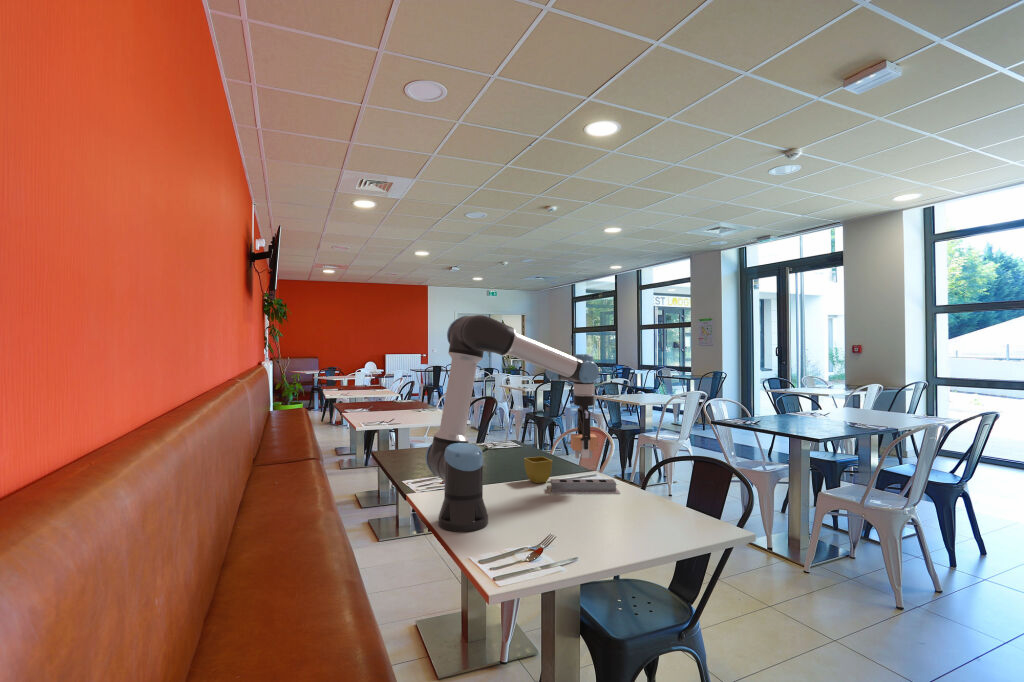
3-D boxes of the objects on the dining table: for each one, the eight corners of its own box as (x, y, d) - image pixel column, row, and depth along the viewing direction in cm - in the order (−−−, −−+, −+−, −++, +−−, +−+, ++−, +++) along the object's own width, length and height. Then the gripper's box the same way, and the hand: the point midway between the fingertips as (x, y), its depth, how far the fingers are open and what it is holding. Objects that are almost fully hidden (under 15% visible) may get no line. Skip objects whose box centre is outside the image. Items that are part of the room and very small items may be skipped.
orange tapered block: (593, 455, 200) (593, 433, 200) (597, 459, 193) (597, 437, 193) (570, 455, 199) (570, 433, 199) (573, 459, 192) (573, 437, 192)
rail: (620, 493, 191) (620, 484, 191) (550, 493, 190) (550, 484, 190) (613, 486, 201) (614, 477, 201) (547, 486, 200) (547, 477, 200)
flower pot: (523, 480, 209) (523, 457, 209) (542, 477, 213) (542, 456, 213) (533, 485, 201) (533, 462, 201) (552, 483, 205) (553, 460, 205)
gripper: (599, 397, 186) (598, 461, 186) (588, 392, 206) (588, 450, 206) (578, 397, 186) (578, 461, 186) (570, 392, 206) (569, 450, 206)
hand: (583, 455), depth 196 cm, fingers closed on orange tapered block, 7 cm apart
